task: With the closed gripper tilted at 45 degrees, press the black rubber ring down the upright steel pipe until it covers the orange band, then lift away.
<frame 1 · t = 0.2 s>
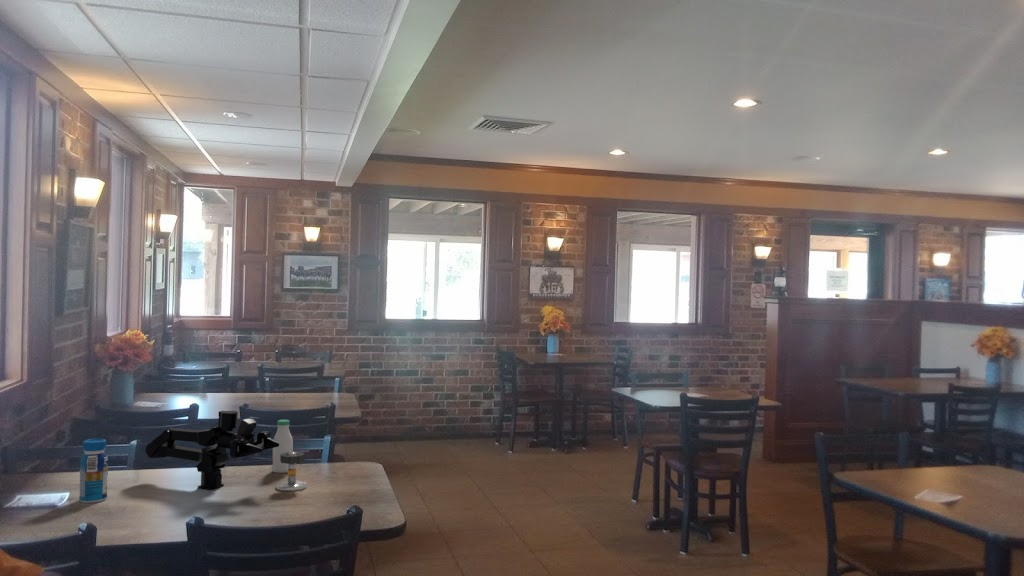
hand: (270, 447, 260), 17 cm above the table, tool horizontal, fingers open, 9 cm apart
beverage bottle: (93, 500, 249), on the table
milk bottle: (282, 471, 293), on the table
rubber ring: (292, 457, 270), point 11 cm above the table, slide at 10.8 cm
pipe stand: (291, 487, 270), on the table
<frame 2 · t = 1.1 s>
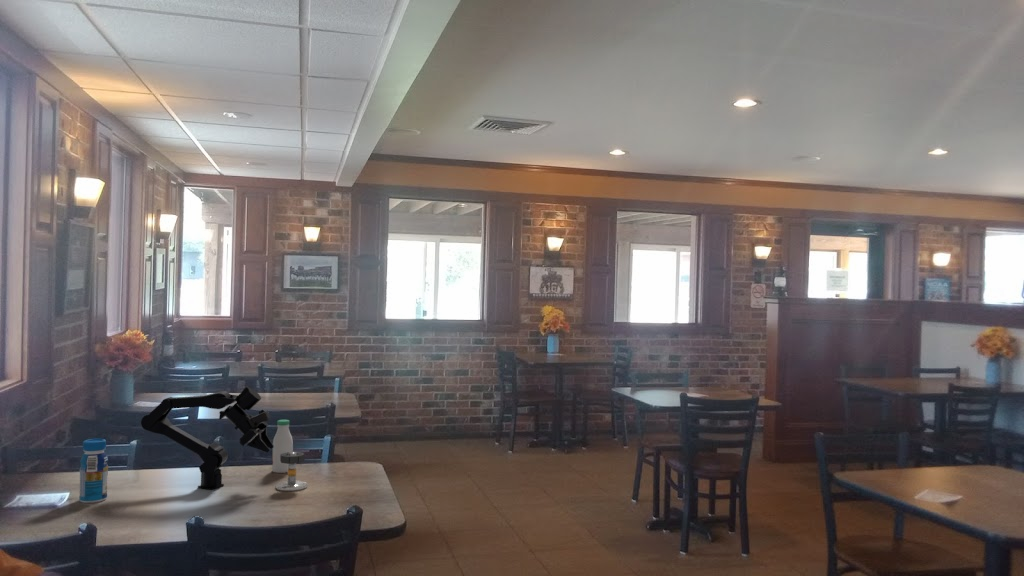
hand: (270, 449, 270), 14 cm above the table, tool tilted 45°, fingers open, 6 cm apart
nothing on the table moved.
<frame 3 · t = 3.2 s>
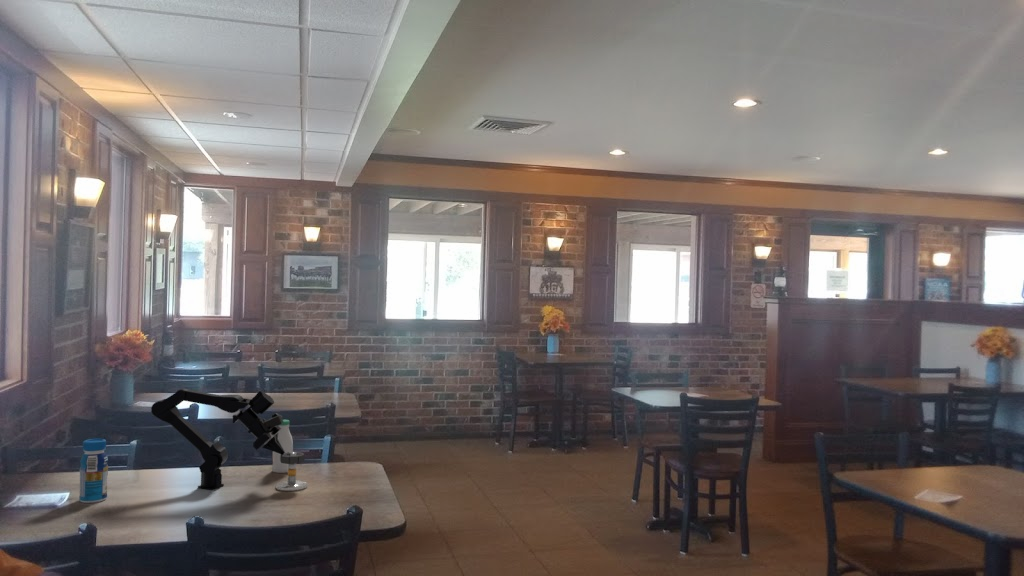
hand: (283, 453, 270), 12 cm above the table, tool tilted 45°, fingers closed, pressing on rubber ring
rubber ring: (292, 457, 270), point 11 cm above the table, slide at 10.7 cm, touching gripper
everything else where it was.
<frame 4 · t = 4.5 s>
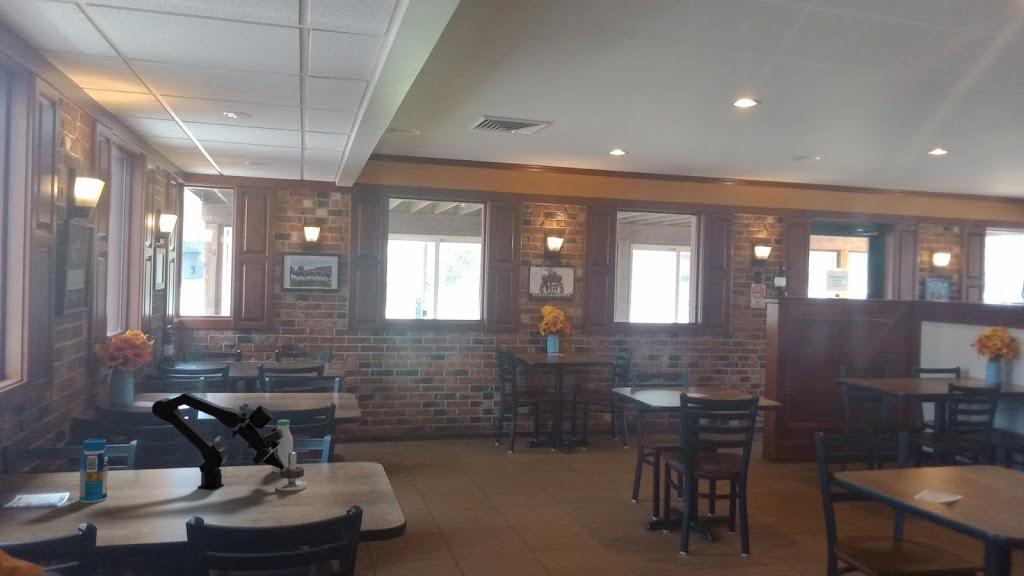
hand: (283, 468, 270), 7 cm above the table, tool tilted 45°, fingers closed, pressing on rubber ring
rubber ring: (291, 472, 270), point 5 cm above the table, slide at 5.4 cm, touching gripper
everything else where it was.
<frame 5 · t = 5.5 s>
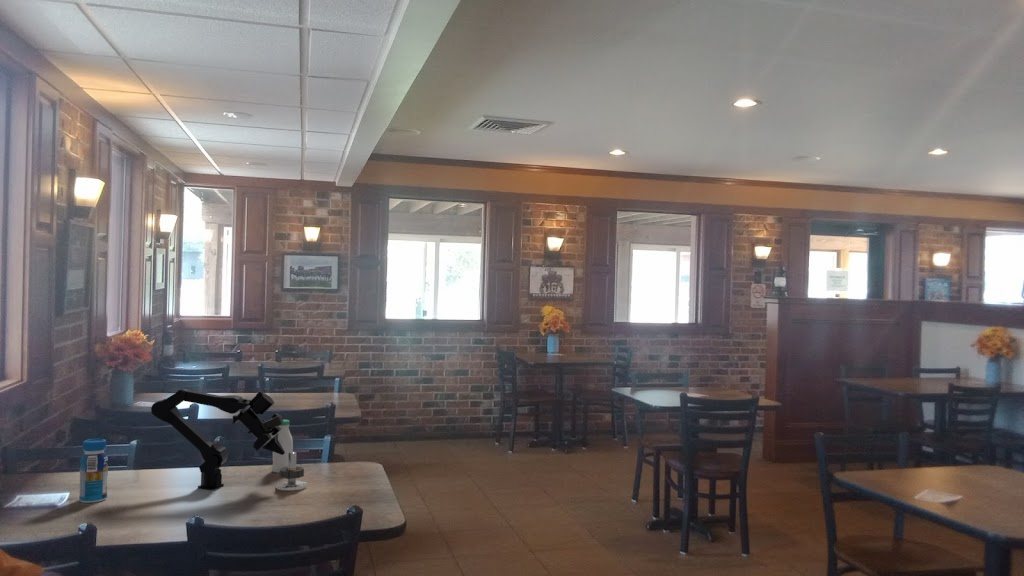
hand: (283, 453, 270), 12 cm above the table, tool tilted 45°, fingers closed
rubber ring: (291, 472, 270), point 5 cm above the table, slide at 5.4 cm
everything else where it was.
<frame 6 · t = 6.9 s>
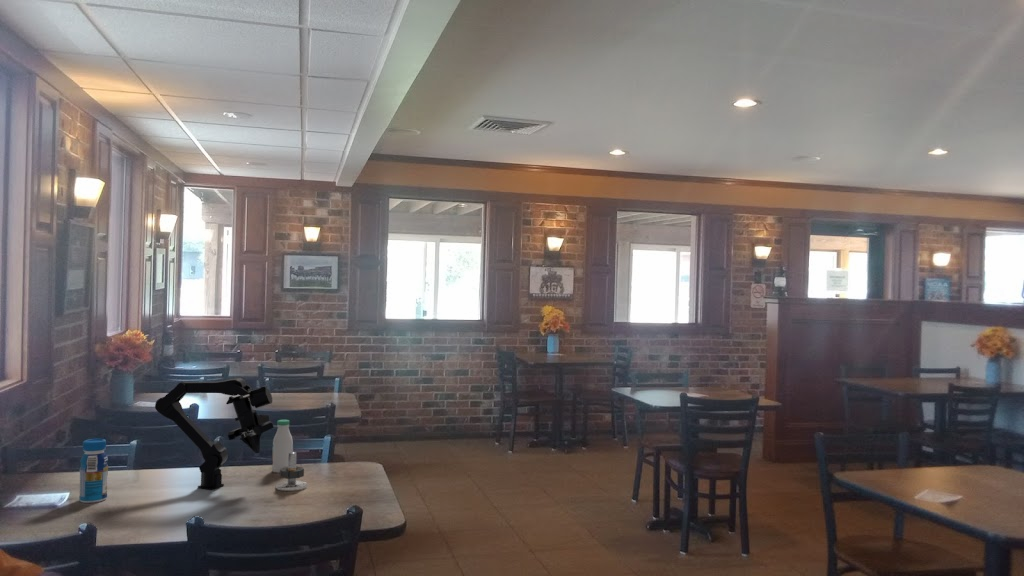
hand: (257, 452, 269), 12 cm above the table, tool tilted 20°, fingers closed
nothing on the table moved.
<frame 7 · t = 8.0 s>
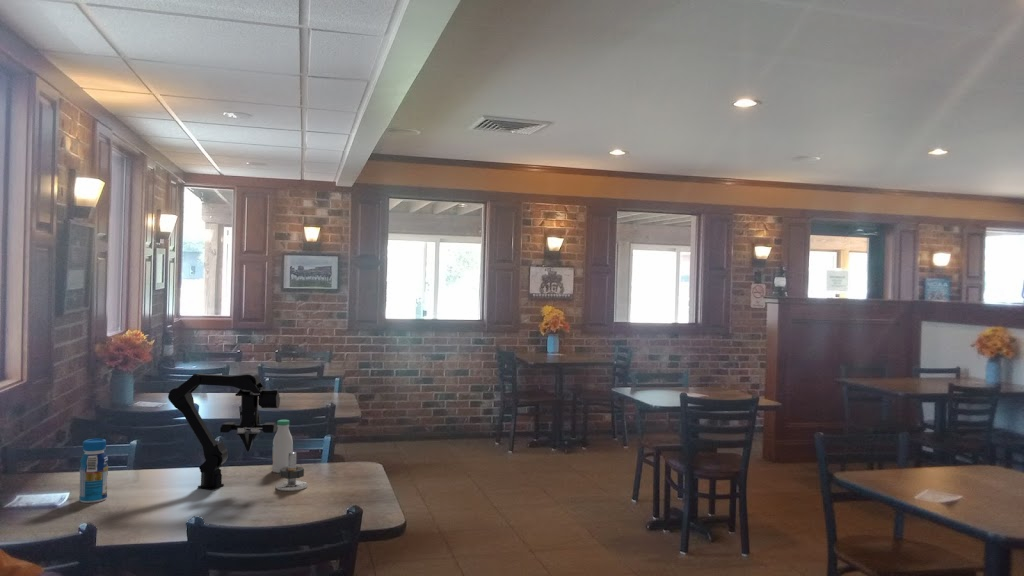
hand: (248, 451, 269), 13 cm above the table, tool pointing down, fingers closed
nothing on the table moved.
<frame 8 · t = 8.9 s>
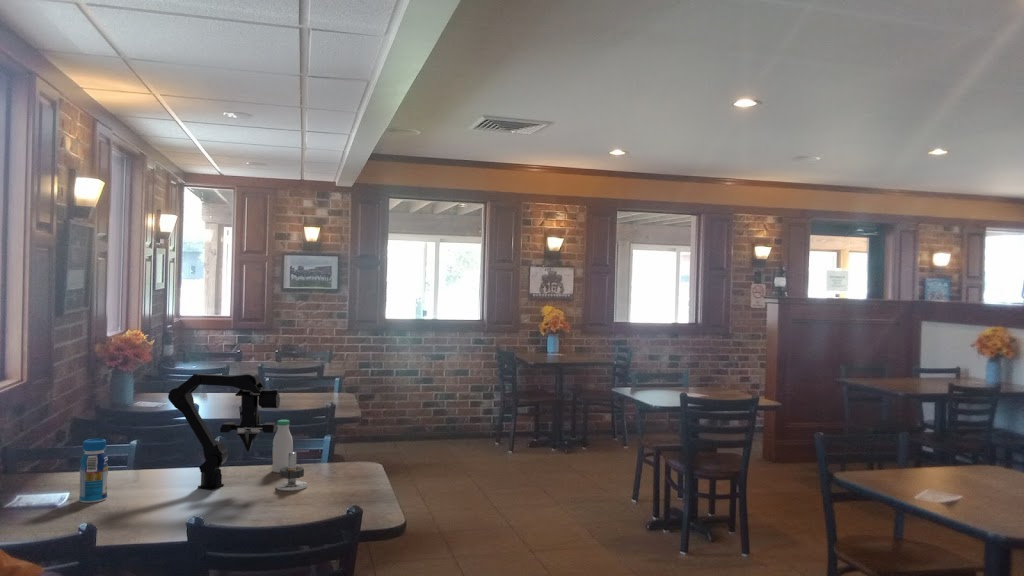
hand: (248, 451, 269), 13 cm above the table, tool pointing down, fingers closed
nothing on the table moved.
at the end: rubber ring slide at 5.4 cm; milk bottle moved 0.2 cm from its start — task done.
